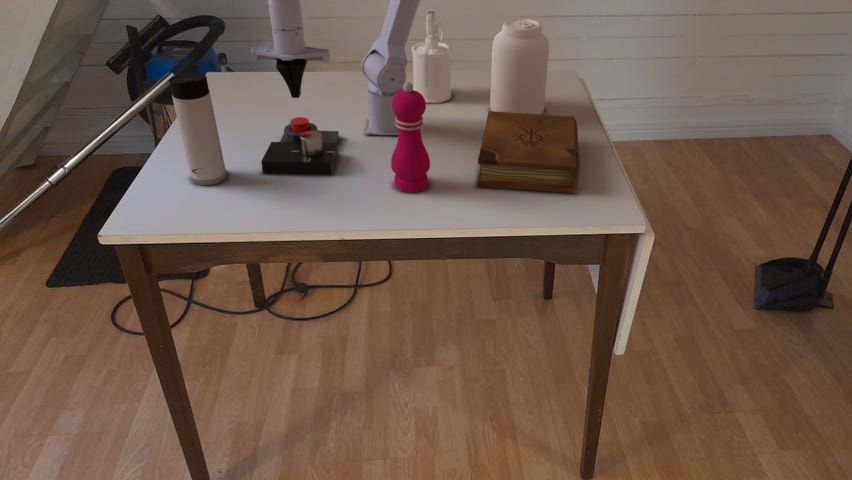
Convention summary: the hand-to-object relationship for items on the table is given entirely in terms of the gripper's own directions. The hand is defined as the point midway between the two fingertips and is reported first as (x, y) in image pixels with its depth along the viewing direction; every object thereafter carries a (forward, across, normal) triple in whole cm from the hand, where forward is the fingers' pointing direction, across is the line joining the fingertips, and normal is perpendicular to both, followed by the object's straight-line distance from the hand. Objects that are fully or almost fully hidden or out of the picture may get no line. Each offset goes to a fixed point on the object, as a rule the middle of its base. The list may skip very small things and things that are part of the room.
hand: (296, 96), depth 139 cm
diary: (+11, +46, -6) cm, 48 cm away
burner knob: (+8, +4, -9) cm, 12 cm away
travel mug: (+11, -14, -15) cm, 24 cm away
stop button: (+7, 0, 0) cm, 7 cm away
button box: (+10, +2, 0) cm, 11 cm away
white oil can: (+11, +26, +27) cm, 38 cm away
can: (+11, +46, +20) cm, 51 cm away
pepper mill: (+11, +24, -16) cm, 31 cm away
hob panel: (+10, +2, -9) cm, 14 cm away
